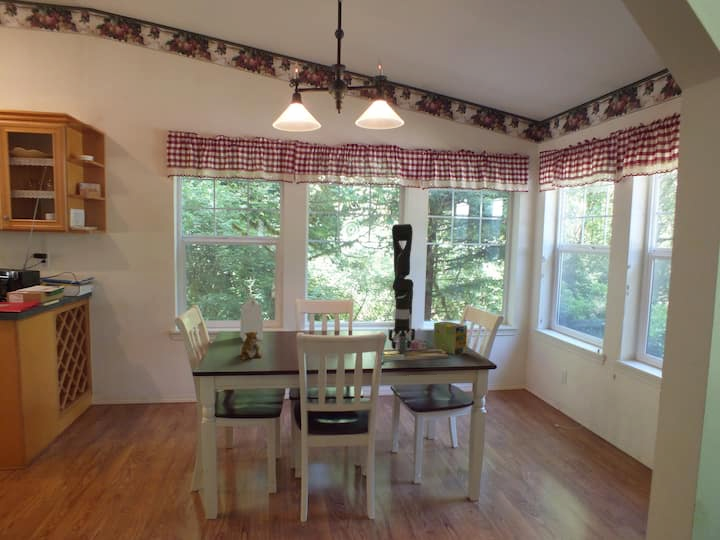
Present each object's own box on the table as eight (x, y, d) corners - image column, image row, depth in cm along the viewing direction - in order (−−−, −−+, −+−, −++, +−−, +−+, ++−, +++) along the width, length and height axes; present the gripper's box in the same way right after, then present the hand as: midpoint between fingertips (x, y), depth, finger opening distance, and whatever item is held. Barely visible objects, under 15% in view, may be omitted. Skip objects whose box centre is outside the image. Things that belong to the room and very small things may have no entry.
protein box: (454, 356, 238) (455, 327, 237) (432, 350, 250) (433, 322, 249) (466, 353, 245) (467, 325, 244) (444, 347, 257) (445, 320, 255)
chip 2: (390, 357, 233) (390, 351, 233) (397, 356, 234) (397, 351, 234) (392, 359, 229) (392, 353, 229) (399, 358, 230) (399, 353, 230)
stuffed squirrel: (243, 361, 222) (242, 335, 221) (237, 353, 234) (237, 329, 233) (262, 358, 226) (262, 333, 225) (256, 351, 239) (256, 327, 238)
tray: (374, 356, 235) (374, 349, 235) (397, 355, 238) (397, 348, 238) (380, 362, 223) (380, 356, 223) (404, 361, 226) (404, 354, 226)
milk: (240, 337, 270) (239, 294, 268) (259, 335, 275) (259, 294, 273) (243, 341, 260) (243, 297, 257) (263, 340, 264) (263, 296, 262)
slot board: (396, 354, 238) (396, 349, 238) (438, 352, 244) (438, 347, 244) (404, 361, 226) (404, 356, 226) (448, 359, 231) (448, 354, 231)
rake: (396, 354, 235) (397, 334, 234) (402, 354, 235) (402, 333, 234) (400, 357, 229) (401, 336, 228) (405, 357, 230) (406, 336, 229)
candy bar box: (427, 340, 244) (403, 342, 235) (427, 349, 243) (403, 351, 235) (414, 339, 253) (390, 341, 245) (414, 348, 253) (391, 350, 244)
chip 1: (382, 357, 232) (382, 351, 232) (390, 357, 233) (390, 351, 232) (384, 359, 228) (385, 354, 228) (392, 359, 229) (392, 353, 229)
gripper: (412, 315, 236) (411, 345, 237) (386, 316, 232) (386, 347, 234) (417, 318, 228) (416, 349, 230) (391, 318, 225) (390, 350, 226)
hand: (401, 348), depth 232 cm, fingers open, 7 cm apart
